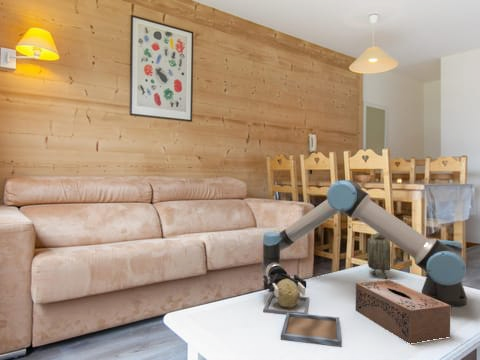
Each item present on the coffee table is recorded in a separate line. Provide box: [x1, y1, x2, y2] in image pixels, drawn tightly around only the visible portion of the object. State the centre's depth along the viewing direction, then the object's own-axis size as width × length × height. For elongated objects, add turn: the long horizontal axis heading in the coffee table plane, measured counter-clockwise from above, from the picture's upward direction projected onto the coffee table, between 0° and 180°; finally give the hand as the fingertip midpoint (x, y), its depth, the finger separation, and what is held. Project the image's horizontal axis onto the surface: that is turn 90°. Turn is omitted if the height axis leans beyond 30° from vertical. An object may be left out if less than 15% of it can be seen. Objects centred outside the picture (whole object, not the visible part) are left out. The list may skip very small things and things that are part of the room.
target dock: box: [280, 312, 342, 348], centre depth 108 cm, size 17×17×1 cm
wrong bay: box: [262, 293, 310, 316], centre depth 127 cm, size 15×16×1 cm
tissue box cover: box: [355, 279, 452, 345], centre depth 113 cm, size 26×14×10 cm, turn 17°
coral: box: [275, 279, 301, 309], centre depth 128 cm, size 10×10×10 cm
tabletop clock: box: [366, 232, 392, 280], centre depth 167 cm, size 14×9×25 cm, turn 164°
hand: (290, 292), depth 123 cm, fingers closed on coral, 9 cm apart
